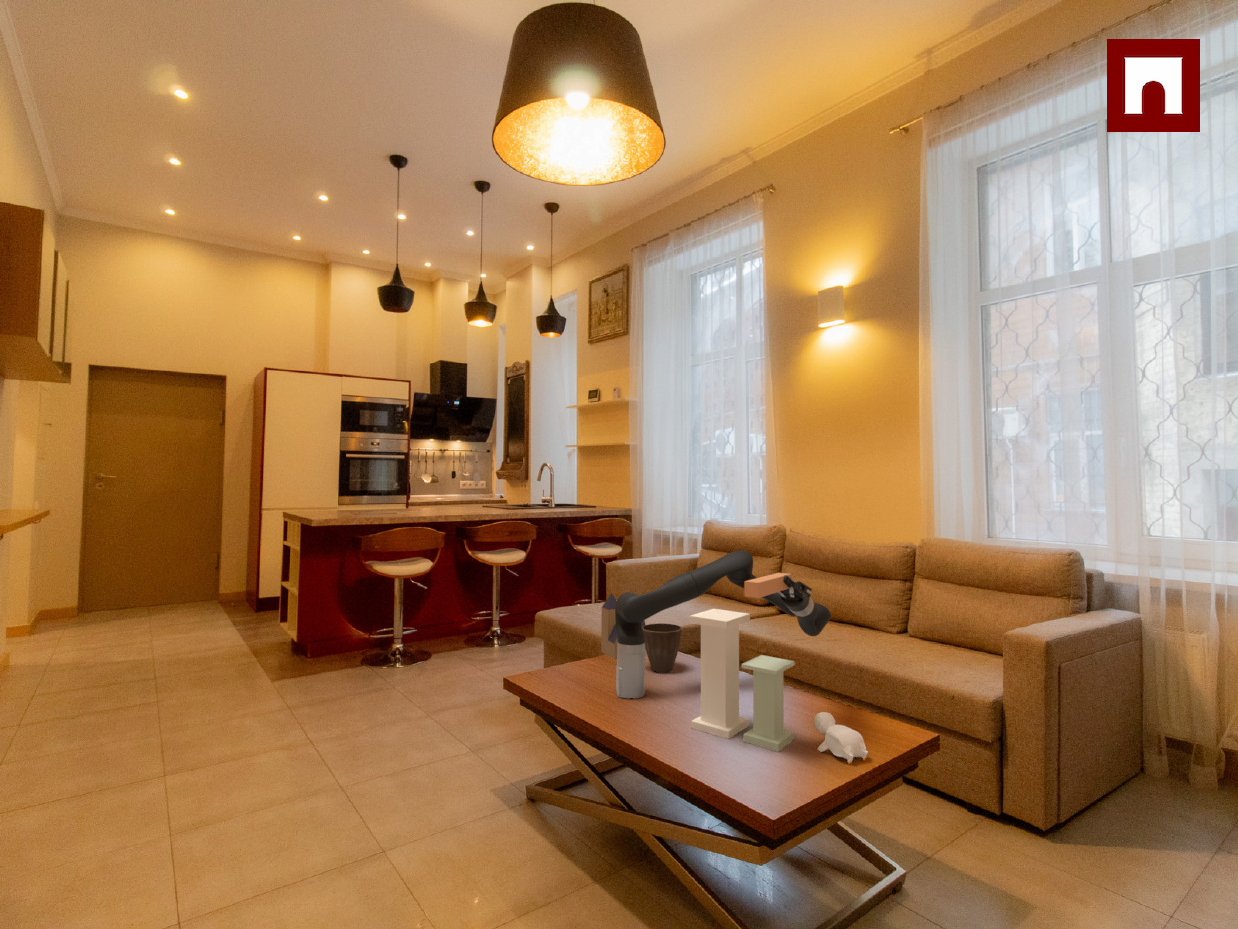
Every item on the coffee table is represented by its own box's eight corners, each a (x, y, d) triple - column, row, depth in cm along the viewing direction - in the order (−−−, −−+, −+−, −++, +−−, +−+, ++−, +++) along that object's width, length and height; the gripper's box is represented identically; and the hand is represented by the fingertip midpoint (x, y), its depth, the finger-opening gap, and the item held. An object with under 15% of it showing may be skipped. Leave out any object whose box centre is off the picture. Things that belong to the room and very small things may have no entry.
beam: (778, 586, 180) (778, 572, 180) (791, 587, 177) (791, 573, 177) (744, 596, 163) (744, 581, 163) (758, 598, 160) (758, 582, 160)
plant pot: (641, 675, 223) (642, 631, 223) (641, 664, 238) (642, 622, 238) (682, 676, 222) (682, 632, 223) (680, 665, 237) (680, 623, 238)
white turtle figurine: (865, 769, 156) (825, 728, 168) (875, 743, 153) (833, 703, 166) (840, 776, 152) (801, 733, 165) (849, 749, 149) (809, 707, 162)
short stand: (761, 729, 173) (761, 655, 174) (795, 738, 167) (794, 661, 168) (741, 743, 164) (741, 664, 165) (776, 753, 158) (776, 671, 159)
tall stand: (714, 715, 184) (713, 608, 185) (750, 725, 177) (749, 613, 178) (689, 729, 173) (689, 615, 175) (726, 740, 166) (726, 621, 167)
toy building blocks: (601, 652, 255) (601, 592, 256) (640, 647, 263) (641, 589, 264) (614, 659, 244) (614, 596, 245) (655, 654, 252) (655, 593, 253)
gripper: (778, 586, 192) (757, 563, 180) (822, 591, 183) (803, 567, 172) (773, 609, 188) (751, 587, 177) (818, 615, 180) (798, 592, 168)
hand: (777, 577), depth 174 cm, fingers closed on beam, 4 cm apart
